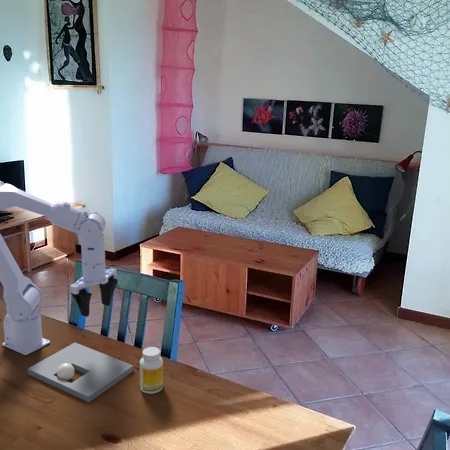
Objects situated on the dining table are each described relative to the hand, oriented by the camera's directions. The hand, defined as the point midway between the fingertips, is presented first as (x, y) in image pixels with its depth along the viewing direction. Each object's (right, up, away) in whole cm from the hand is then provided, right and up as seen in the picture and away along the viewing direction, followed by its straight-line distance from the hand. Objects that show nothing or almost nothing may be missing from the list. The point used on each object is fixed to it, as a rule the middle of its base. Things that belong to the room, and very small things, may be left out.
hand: (95, 309), depth 132 cm
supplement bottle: (+17, -16, -14) cm, 27 cm away
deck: (-1, -14, -9) cm, 17 cm away
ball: (-4, -12, -13) cm, 18 cm away
